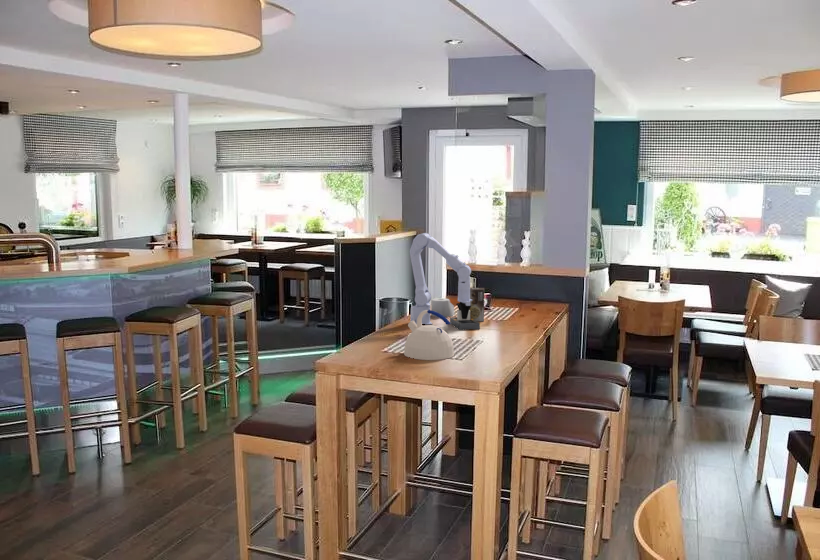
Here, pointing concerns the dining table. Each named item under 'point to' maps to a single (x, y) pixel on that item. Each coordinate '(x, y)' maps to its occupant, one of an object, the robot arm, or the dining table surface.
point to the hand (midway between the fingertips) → (463, 318)
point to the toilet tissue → (442, 307)
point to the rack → (465, 324)
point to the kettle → (428, 340)
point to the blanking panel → (459, 315)
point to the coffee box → (477, 304)
